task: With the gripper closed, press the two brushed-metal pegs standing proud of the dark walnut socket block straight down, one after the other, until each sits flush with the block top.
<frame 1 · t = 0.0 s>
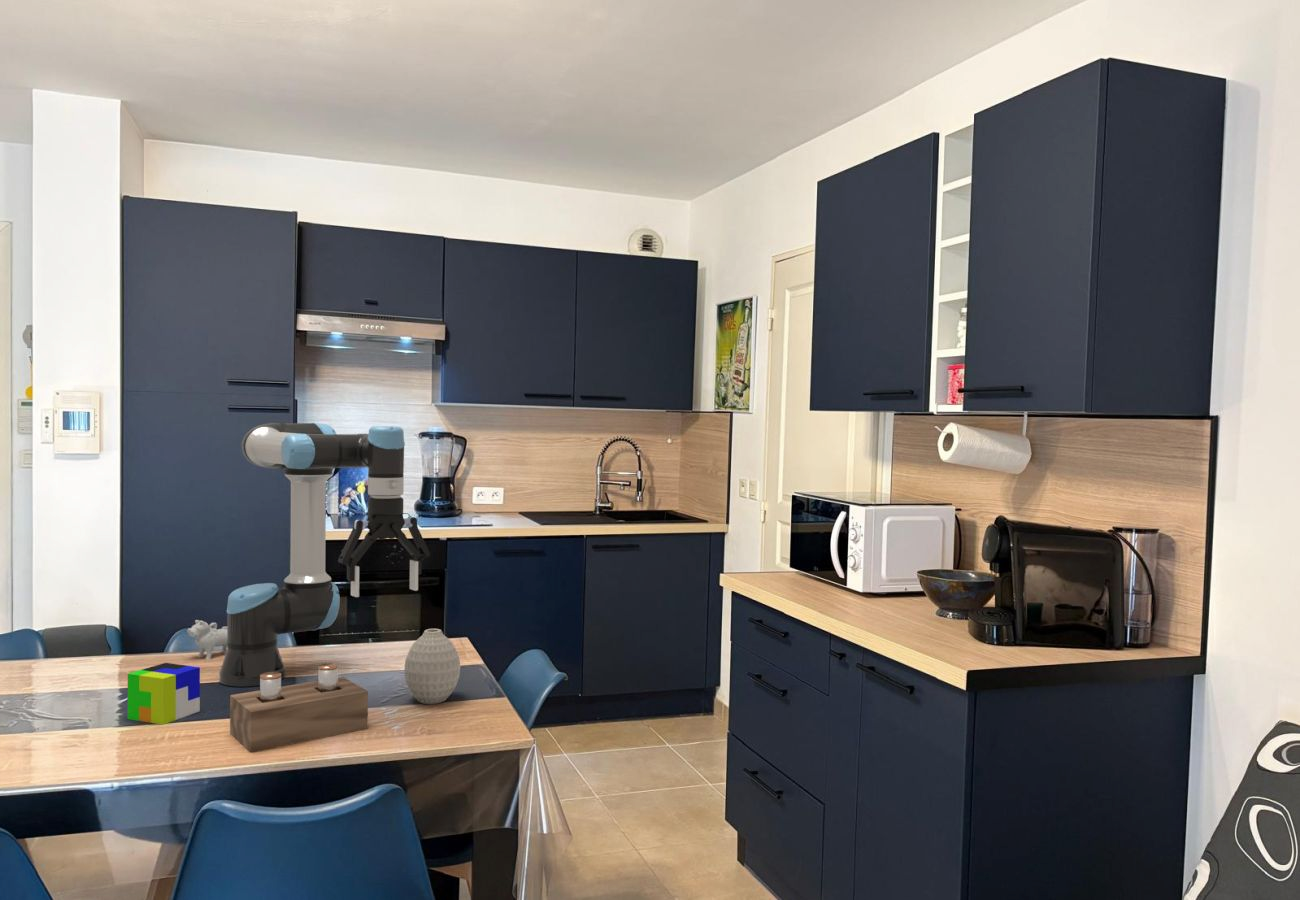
hand: (384, 592, 204), 28 cm above the table, fingers open, 13 cm apart
dog figurine: (212, 657, 255), on the table
peg 1: (270, 692, 192), point 9 cm above the table, slide at 0.0 cm
peg 2: (328, 682, 199), point 9 cm above the table, slide at 0.0 cm
puzzle toy: (164, 716, 204), on the table
vase: (432, 701, 218), on the table
socket block: (299, 730, 196), on the table
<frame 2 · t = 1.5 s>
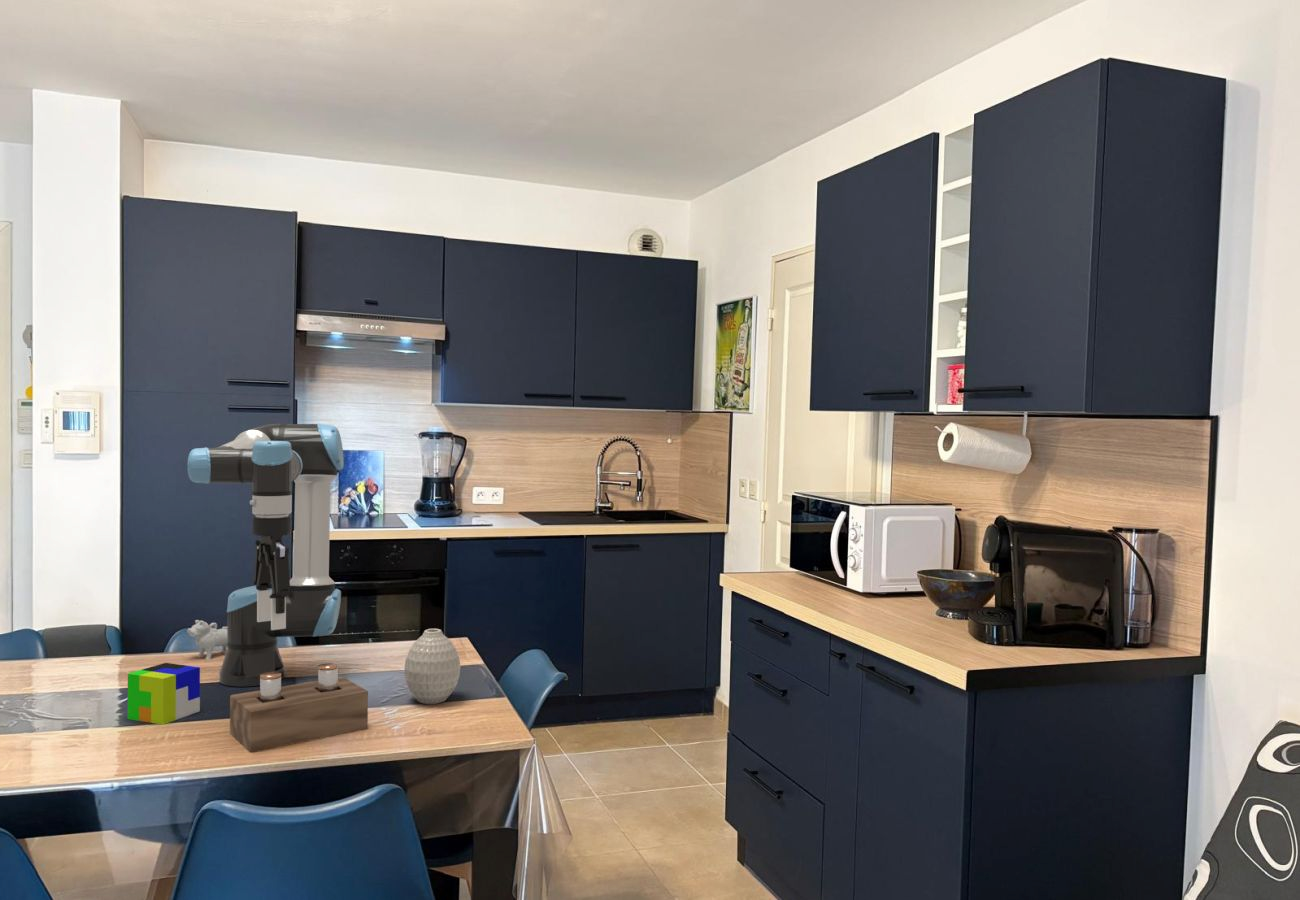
hand: (271, 624, 191), 23 cm above the table, fingers open, 8 cm apart
nothing on the table moved.
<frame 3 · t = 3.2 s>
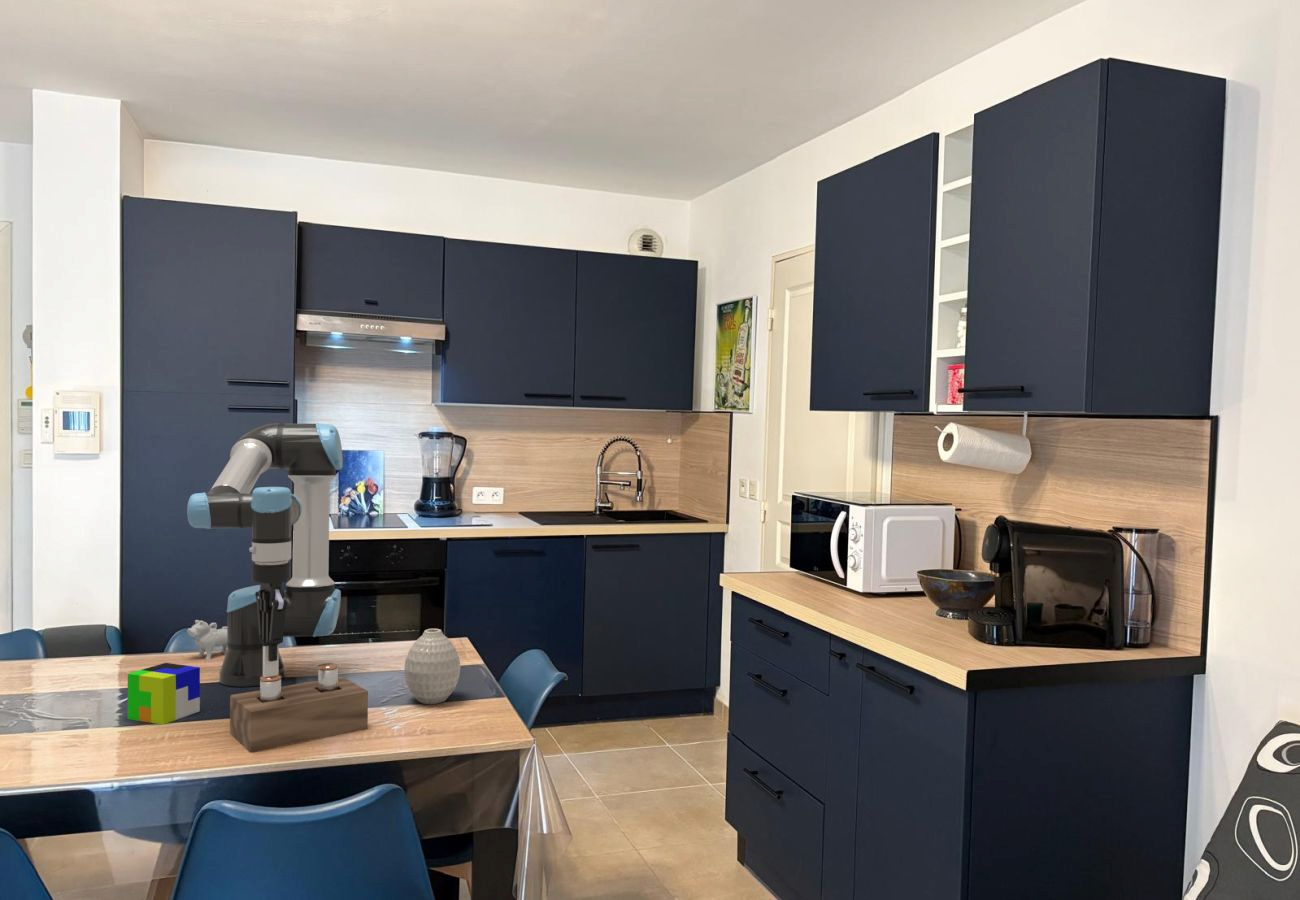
hand: (270, 675, 191), 13 cm above the table, fingers closed
peg 1: (270, 694, 192), point 9 cm above the table, slide at 0.5 cm, touching gripper
everything else where it was.
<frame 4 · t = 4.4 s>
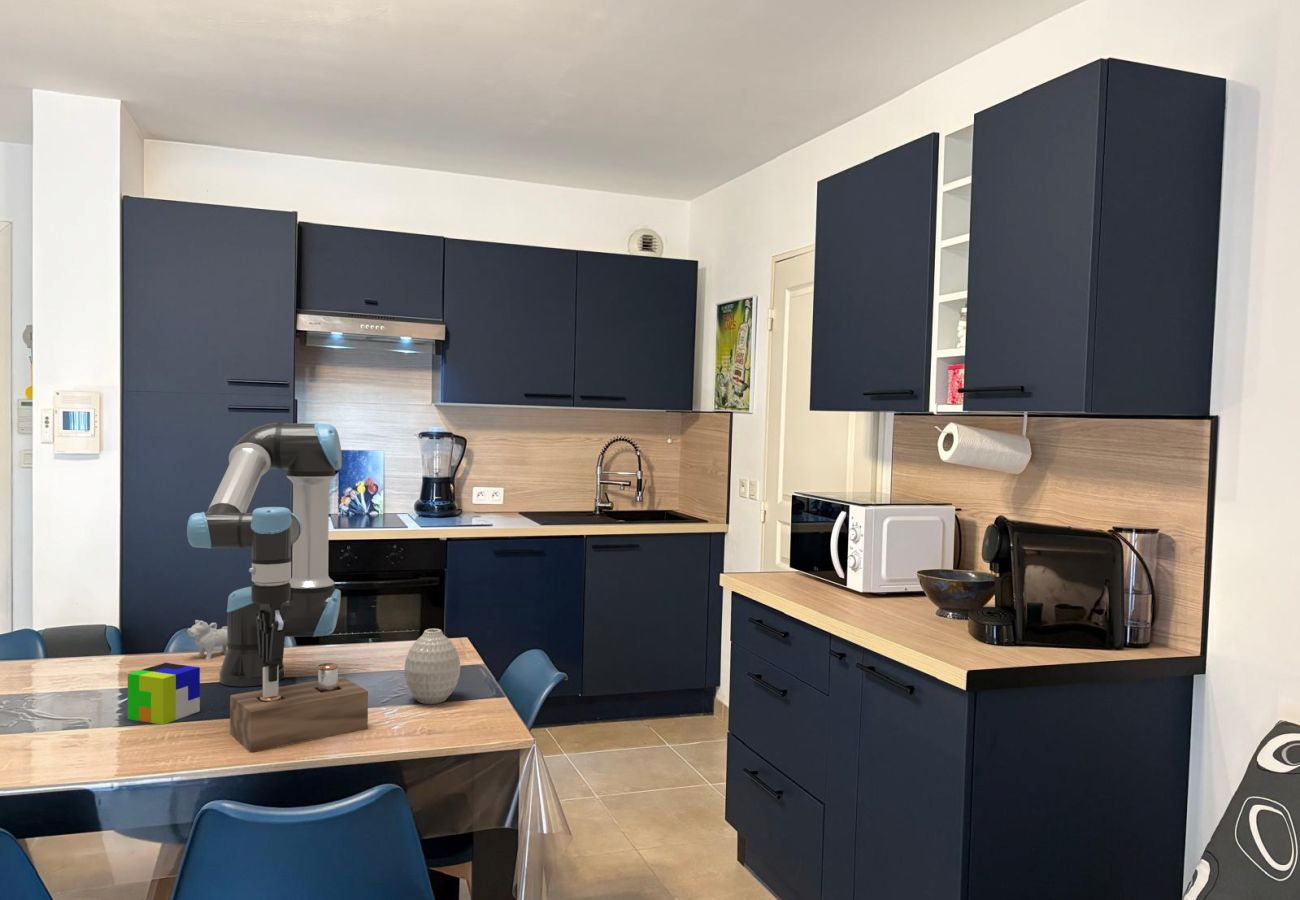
hand: (270, 695, 192), 9 cm above the table, fingers closed
peg 1: (270, 714, 192), point 5 cm above the table, slide at 4.7 cm, touching gripper
everything else where it was.
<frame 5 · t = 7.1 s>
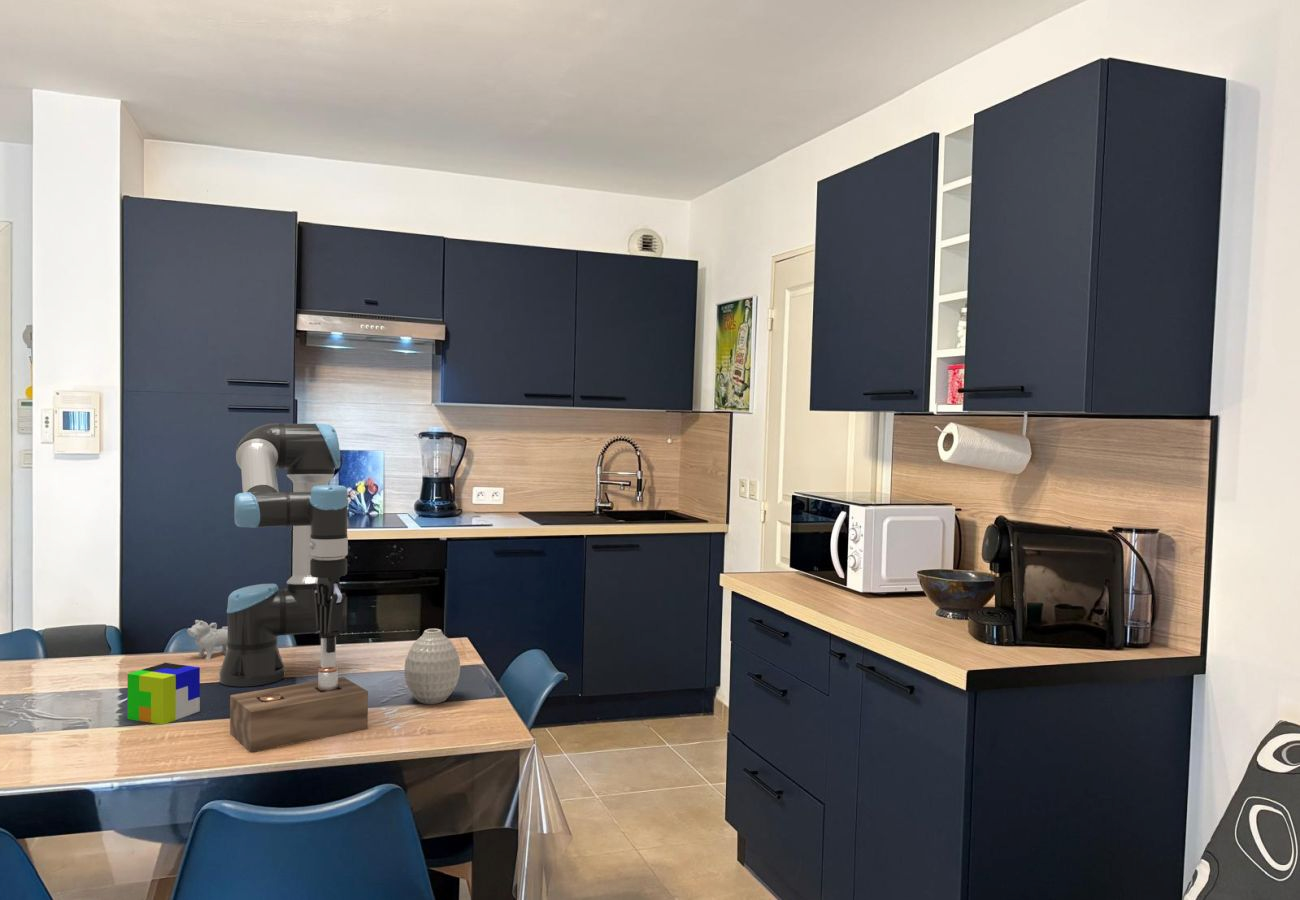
hand: (328, 666, 199), 13 cm above the table, fingers closed
peg 1: (270, 714, 192), point 5 cm above the table, slide at 4.7 cm
peg 2: (328, 684, 199), point 9 cm above the table, slide at 0.5 cm, touching gripper
everything else where it was.
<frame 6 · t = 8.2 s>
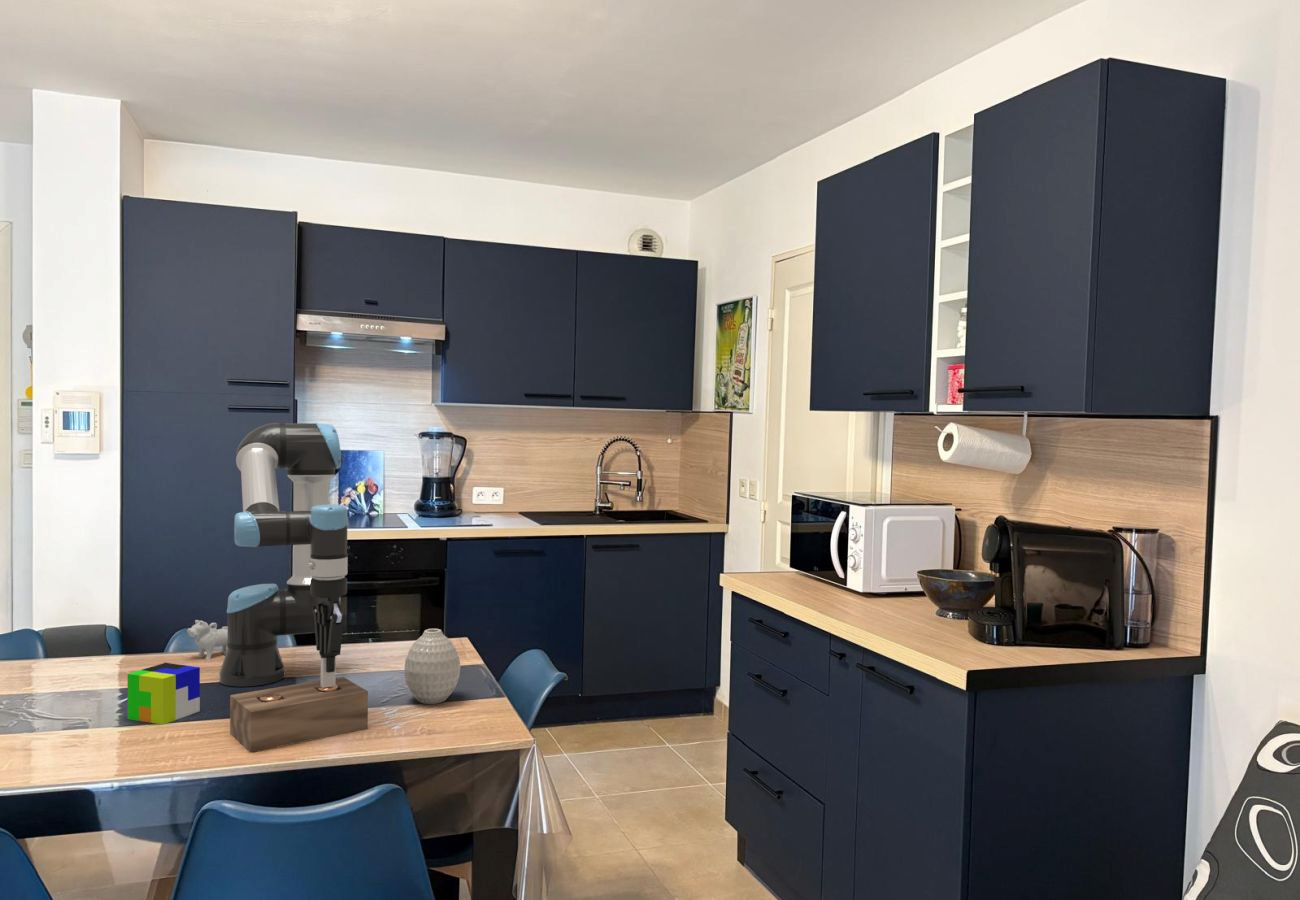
hand: (328, 685, 199), 9 cm above the table, fingers closed
peg 2: (327, 704, 199), point 5 cm above the table, slide at 4.7 cm, touching gripper
everything else where it was.
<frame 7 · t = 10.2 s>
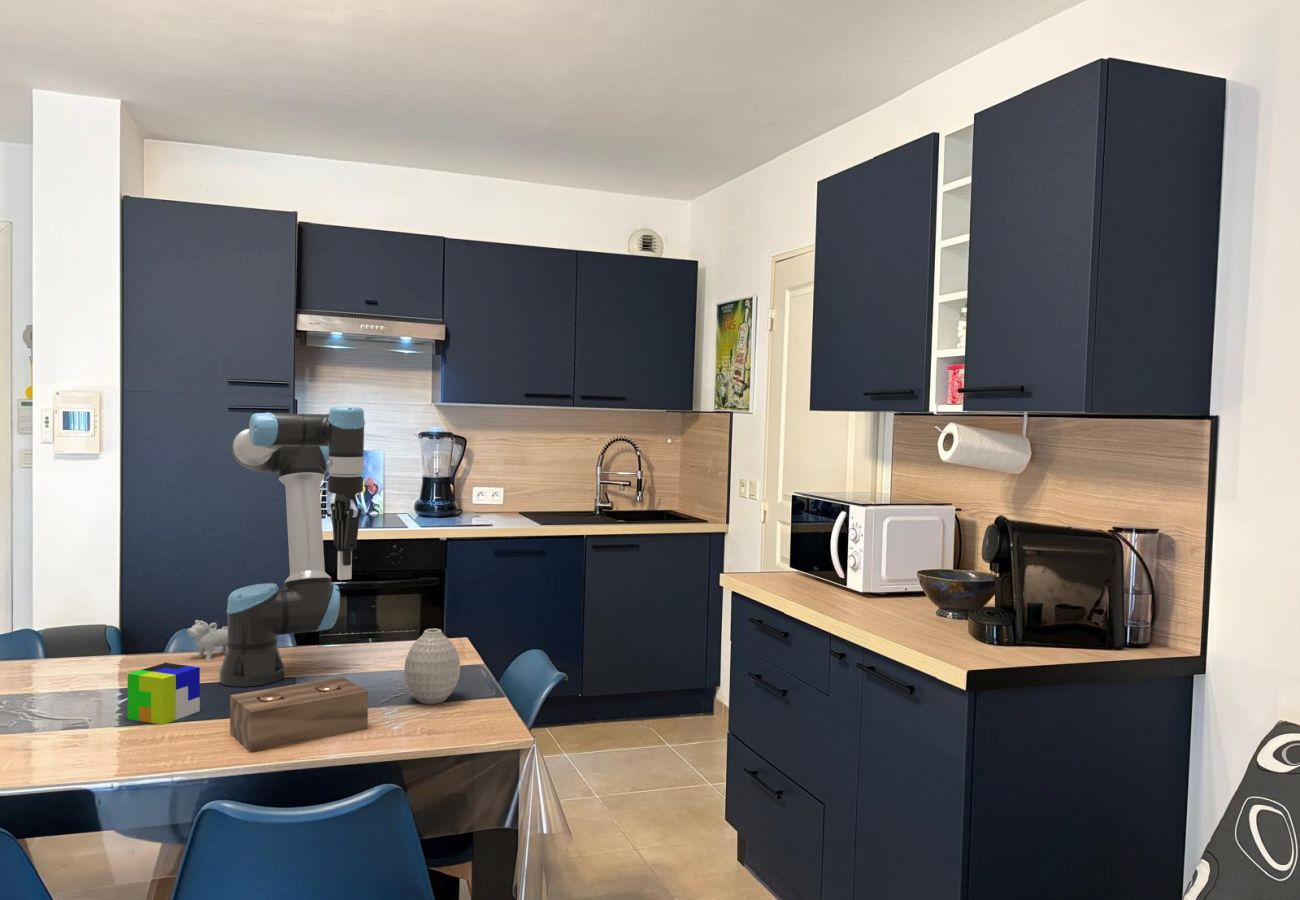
hand: (344, 578, 210), 30 cm above the table, fingers closed
peg 2: (327, 704, 199), point 5 cm above the table, slide at 4.7 cm
everything else where it was.
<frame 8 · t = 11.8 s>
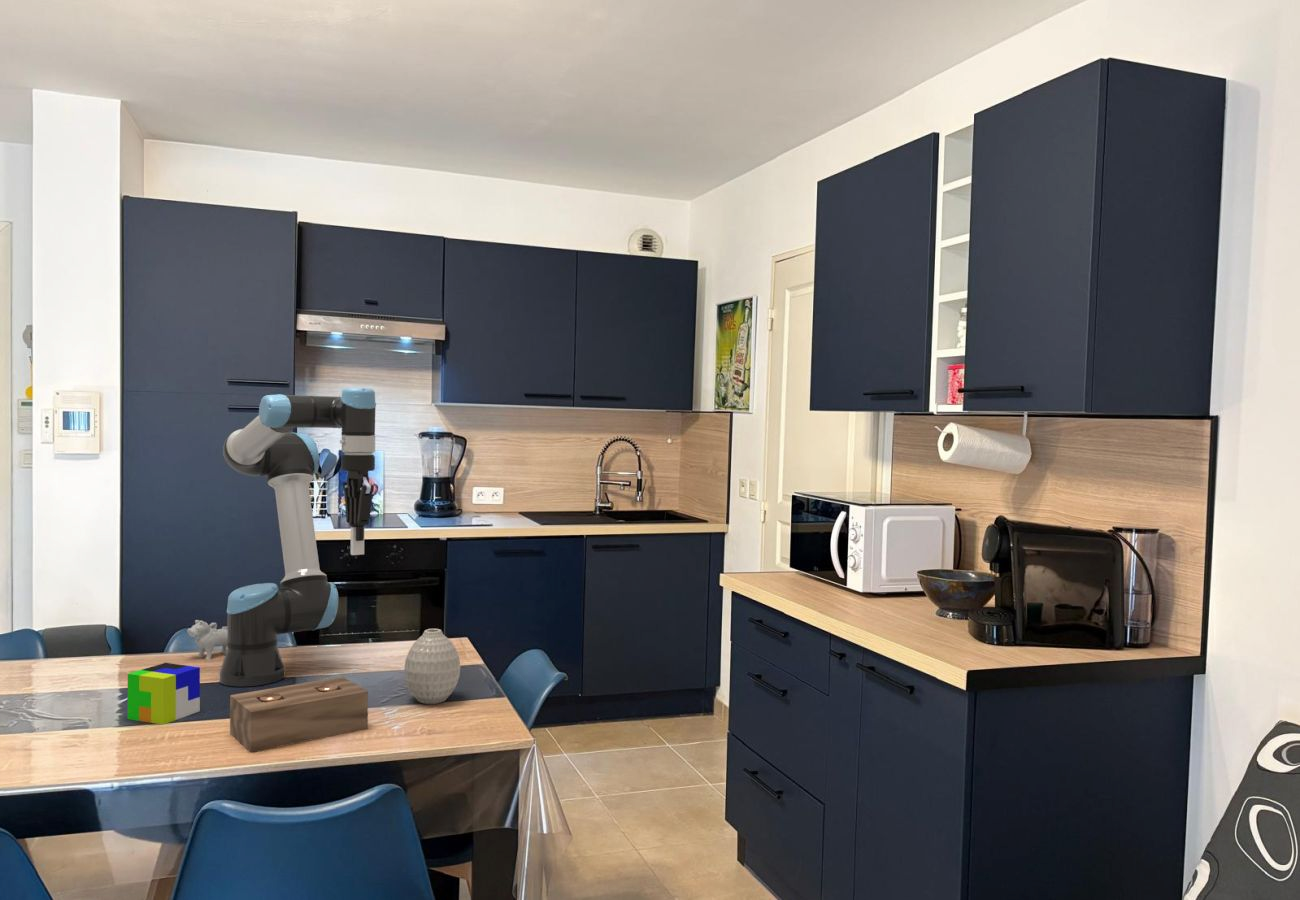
hand: (357, 554, 217), 34 cm above the table, fingers closed
nothing on the table moved.
at the end: peg 1 slide at 4.7 cm; peg 2 slide at 4.7 cm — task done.
